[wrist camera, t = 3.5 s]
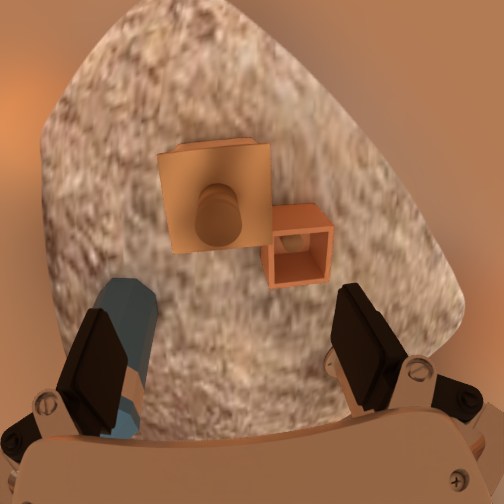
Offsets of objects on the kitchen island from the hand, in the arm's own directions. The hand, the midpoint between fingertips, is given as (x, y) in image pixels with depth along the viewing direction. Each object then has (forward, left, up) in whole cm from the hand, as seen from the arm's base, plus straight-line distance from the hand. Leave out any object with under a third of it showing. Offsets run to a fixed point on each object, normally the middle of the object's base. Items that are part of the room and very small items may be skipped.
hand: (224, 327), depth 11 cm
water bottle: (+15, +17, -25) cm, 34 cm away
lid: (0, 0, -16) cm, 16 cm away
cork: (-8, +8, -24) cm, 26 cm away
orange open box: (-8, +8, -25) cm, 27 cm away
